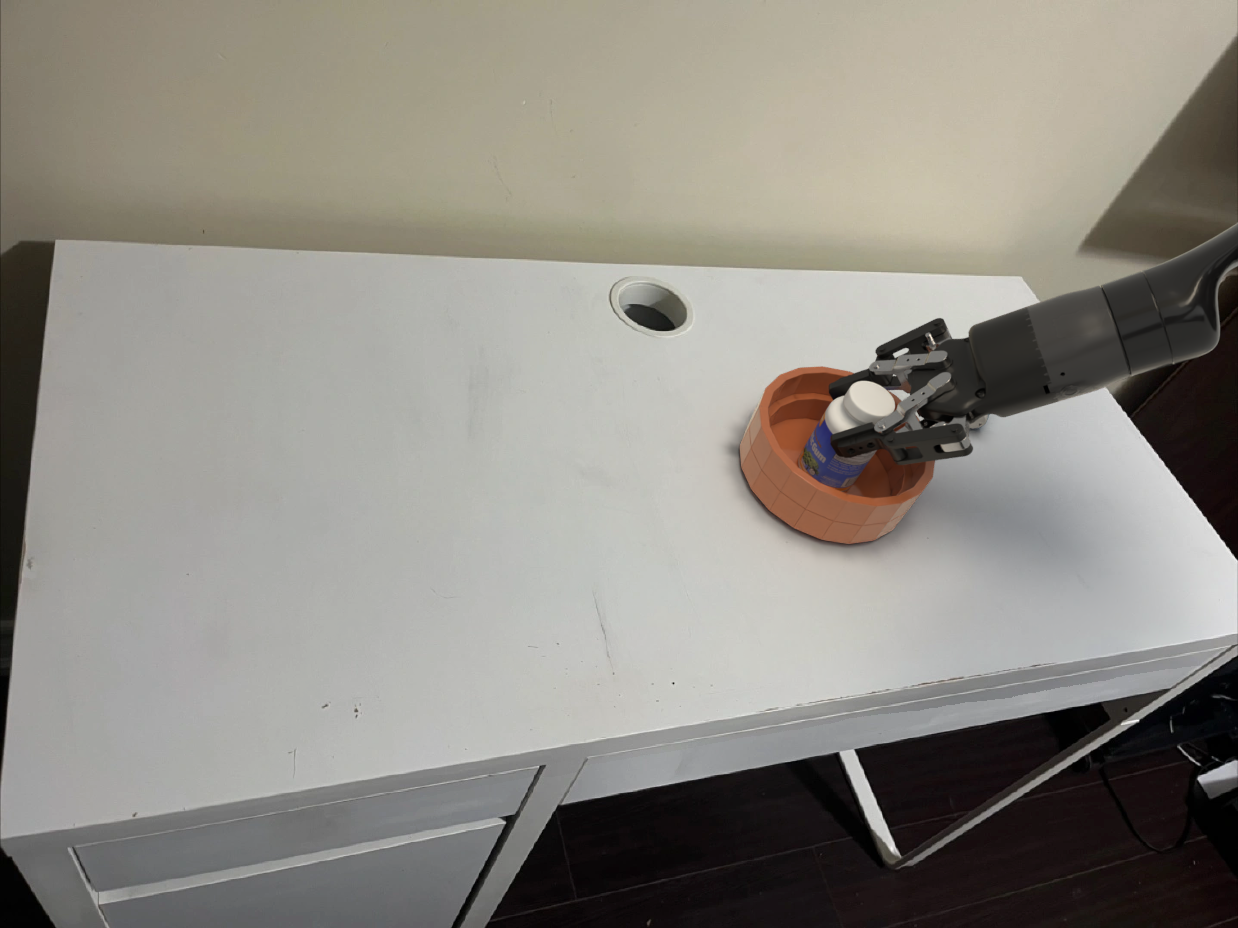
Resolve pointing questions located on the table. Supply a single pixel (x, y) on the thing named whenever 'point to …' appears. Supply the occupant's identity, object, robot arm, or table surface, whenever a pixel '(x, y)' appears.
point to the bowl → (800, 497)
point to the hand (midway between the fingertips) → (833, 420)
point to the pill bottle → (843, 414)
